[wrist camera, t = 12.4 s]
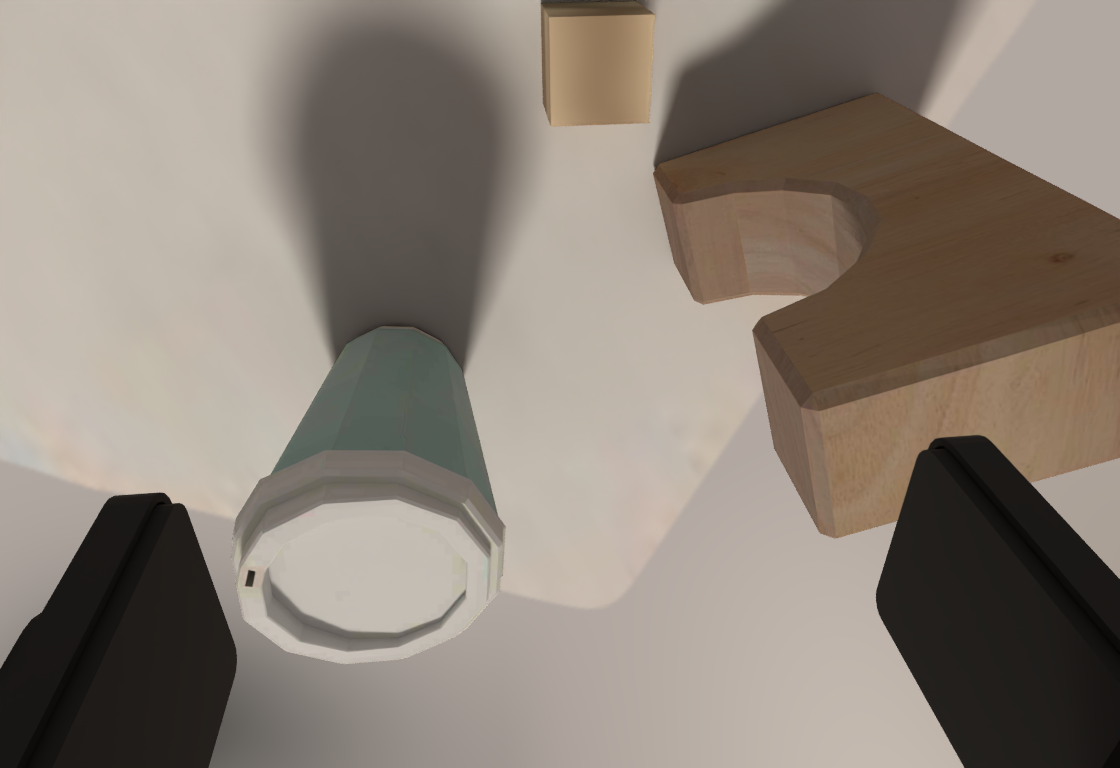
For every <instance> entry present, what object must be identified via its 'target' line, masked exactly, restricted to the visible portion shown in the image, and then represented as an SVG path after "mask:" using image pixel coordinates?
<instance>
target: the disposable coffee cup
mask: <svg viewBox="0 0 1120 768" xmlns="http://www.w3.org/2000/svg"><path fill="white" fill-rule="evenodd" d="M505 529H506V526H505V525H504V524H503V522H502V521H501V520H500V518H499V517H498V514H497V510H496V506H495V502H494V498H493V494H492V490H491V485H490V481H489V477H488V473H487V469H486V465H485V461H484V457H483V453H482V449H481V445H480V440H479V436H478V432H477V428H476V424H475V420H474V416H473V412H472V408H471V404H470V400H469V395H468V391H467V387H466V383H465V379H464V375H463V371H462V369H461V368H460V366H459V365H458V363H457V362H456V361H455V359H454V358H453V356H452V355H451V353H450V352H449V350H448V349H447V347H446V346H445V345H444V344H443V343H442V341H440V340H438V339H436V338H434V337H432V336H430V335H428V334H427V333H425V332H423V331H421V330H419V329H417V328H415V327H399V326H380V327H378V328H376V329H374V330H372V331H370V332H368V333H366V334H364V335H362V336H360V337H357V338H355V339H354V340H353V341H351V342H348V343H347V344H346V346H345V348H344V349H343V351H342V352H341V354H340V356H339V357H338V359H337V361H336V362H335V364H334V365H333V367H332V369H331V370H330V372H329V374H328V376H327V377H326V379H325V381H324V383H323V384H322V386H321V388H320V389H319V391H318V393H317V395H316V396H315V398H314V400H313V402H312V403H311V405H310V407H309V409H308V410H307V412H306V414H305V416H304V417H303V419H302V421H301V423H300V424H299V426H298V428H297V430H296V431H295V433H294V435H293V437H292V438H291V440H290V442H289V443H288V445H287V447H286V449H285V450H284V452H283V454H282V456H281V457H280V459H279V461H278V463H277V464H276V466H275V468H274V470H273V471H272V473H271V475H269V476H267V477H265V478H262V479H260V480H259V482H258V484H257V485H256V487H255V489H254V490H253V492H252V493H251V495H250V497H249V498H248V500H247V501H246V503H245V505H244V506H243V508H242V510H241V511H240V513H239V514H238V516H237V518H236V521H235V527H234V533H233V538H232V539H233V546H232V551H231V559H232V565H233V569H234V574H235V578H236V583H235V584H236V588H237V593H238V597H239V602H240V607H241V611H242V616H243V619H244V620H245V621H246V622H247V623H249V624H250V625H251V626H253V627H254V628H255V629H257V630H258V631H259V632H261V633H262V634H263V635H265V636H266V637H268V638H269V639H270V640H272V641H273V642H274V643H276V644H277V645H278V646H280V647H281V648H282V649H283V650H285V651H287V652H292V653H296V654H301V655H305V656H310V657H314V658H318V659H323V660H327V661H332V662H336V663H341V664H351V663H361V662H374V661H384V660H396V659H405V658H407V657H410V656H412V655H414V654H417V653H419V652H421V651H423V650H426V649H428V648H431V647H433V646H435V645H437V644H440V643H442V642H445V641H447V640H449V639H452V638H454V637H456V636H457V635H458V634H459V633H460V632H463V631H464V630H466V629H467V627H468V626H469V625H470V624H471V623H472V622H473V621H474V619H475V618H476V617H477V616H478V615H479V614H480V613H481V612H482V611H483V610H484V608H485V607H486V606H487V605H488V604H489V603H490V602H491V601H492V600H493V598H494V597H495V596H496V595H497V594H498V593H499V592H500V579H501V577H502V576H503V563H504V546H505Z"/></svg>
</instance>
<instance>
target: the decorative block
mask: <svg viewBox="0 0 1120 768" xmlns="http://www.w3.org/2000/svg"><path fill="white" fill-rule="evenodd" d="M653 175H654V179H655V183H656V188H657V192H658V196H659V200H660V205H661V209H662V213H663V217H664V222H665V226H666V230H667V234H668V239H669V243H670V247H671V251H672V255H673V260H674V263H675V265H676V267H677V269H678V271H679V273H680V275H681V276H682V278H683V280H684V282H685V284H686V286H687V288H688V290H689V291H690V293H691V295H692V297H693V299H694V301H697V302H699V303H701V304H703V305H704V304H709V303H714V302H719V301H724V300H729V299H734V298H739V297H744V296H749V295H802V296H807V297H806V298H804V299H802V300H800V301H797V302H795V303H793V304H791V305H788V306H786V307H784V308H782V309H779V310H777V311H775V312H772V313H770V314H768V315H766V316H763V317H762V318H761V319H760V320H759V321H758V322H757V324H756V325H755V327H754V329H753V330H752V331H753V337H754V342H755V347H756V353H757V358H758V363H759V369H760V374H761V380H762V385H763V390H764V396H765V401H766V407H767V412H768V417H769V422H770V428H771V434H772V439H773V444H774V449H775V451H776V452H777V454H778V456H779V458H780V460H781V462H782V464H783V465H784V467H785V469H786V471H787V473H788V475H789V477H790V479H791V480H792V482H793V484H794V486H795V488H796V490H797V492H798V493H799V495H800V497H801V499H802V501H803V503H804V505H805V506H806V508H807V510H808V512H809V514H810V516H811V518H812V519H813V521H814V523H815V525H816V527H817V529H818V531H819V532H820V533H821V534H824V535H827V536H829V537H832V538H839V537H843V536H846V535H850V534H853V533H857V532H860V531H864V530H867V529H871V528H874V527H878V526H881V525H885V524H888V523H892V522H895V521H898V518H899V515H900V511H901V508H902V505H903V501H904V498H905V495H906V492H907V488H908V485H909V482H910V478H911V475H912V472H913V468H914V465H915V462H916V459H917V457H918V454H919V453H920V452H921V451H923V450H928V447H929V445H930V443H931V442H932V441H933V440H934V439H937V438H942V437H956V436H970V435H981V436H985V437H986V438H988V439H989V440H990V441H991V442H992V443H993V444H994V445H995V446H996V447H997V448H998V449H999V450H1000V451H1001V452H1002V453H1003V454H1004V456H1005V457H1006V458H1007V459H1008V460H1009V461H1010V462H1011V463H1012V464H1013V465H1014V466H1015V467H1016V468H1017V470H1018V471H1019V472H1020V473H1021V474H1022V475H1023V476H1024V477H1025V478H1026V479H1027V480H1028V481H1029V482H1030V483H1031V482H1035V481H1039V480H1042V479H1045V478H1049V477H1053V476H1056V475H1059V474H1063V473H1067V472H1070V471H1074V470H1078V469H1081V468H1085V467H1088V466H1092V465H1095V464H1099V463H1103V462H1106V461H1110V460H1113V459H1117V458H1120V219H1118V218H1116V217H1114V216H1112V215H1110V214H1108V213H1107V212H1105V211H1103V210H1101V209H1099V208H1097V207H1095V206H1093V205H1091V204H1089V203H1088V202H1086V201H1084V200H1082V199H1080V198H1078V197H1076V196H1074V195H1072V194H1070V193H1068V192H1066V191H1065V190H1063V189H1060V188H1059V187H1057V186H1055V185H1053V184H1051V183H1049V182H1047V181H1045V180H1043V179H1041V178H1039V177H1037V176H1036V175H1033V174H1032V173H1030V172H1027V171H1026V170H1024V169H1022V168H1020V167H1018V166H1016V165H1014V164H1012V163H1010V162H1008V161H1006V160H1004V159H1002V158H1000V157H999V156H997V155H995V154H993V153H991V152H989V151H987V150H986V149H984V148H982V147H980V146H978V145H976V144H974V143H972V142H970V141H969V140H967V139H965V138H963V137H961V136H959V135H957V134H955V133H953V132H951V131H950V130H948V129H946V128H944V127H942V126H940V125H938V124H937V123H935V122H933V121H931V120H929V119H927V118H925V117H923V116H921V115H919V114H917V113H915V112H913V111H911V110H909V109H908V108H906V107H904V106H902V105H900V104H898V103H896V102H894V101H892V100H890V99H888V98H886V97H884V96H882V95H880V94H878V93H874V94H871V95H868V96H865V97H862V98H859V99H856V100H853V101H850V102H847V103H844V104H841V105H837V106H834V107H831V108H828V109H825V110H822V111H819V112H816V113H813V114H810V115H807V116H804V117H800V118H797V119H794V120H791V121H788V122H785V123H782V124H779V125H776V126H773V127H770V128H767V129H764V130H760V131H757V132H754V133H751V134H748V135H745V136H742V137H739V138H736V139H733V140H730V141H727V142H724V143H721V144H718V145H715V146H712V147H709V148H706V149H703V150H700V151H697V152H693V153H690V154H687V155H684V156H681V157H678V158H675V159H672V160H669V161H666V162H663V163H660V164H659V165H658V166H657V168H656V170H655V171H654V173H653Z"/></svg>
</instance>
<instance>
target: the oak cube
mask: <svg viewBox="0 0 1120 768" xmlns="http://www.w3.org/2000/svg"><path fill="white" fill-rule="evenodd" d="M654 21H655V14H653V13H652V12H651V11H649V10H648V9H646V8H645V7H644V6H642V5H641V4H639V3H638V2H637V1H617V2H576V3H541V36H542V84H543V105H544V108H545V111H546V114H547V117H548V120H549V122H550V125H551V126H578V125H605V124H633V123H649V119H650V100H651V80H652V61H653V41H654Z"/></svg>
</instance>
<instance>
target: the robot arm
mask: <svg viewBox="0 0 1120 768" xmlns="http://www.w3.org/2000/svg"><path fill="white" fill-rule="evenodd" d="M876 603H877V609H878V612H879V615H880V617H881V619H882V621H883V623H884V625H885V626H886V628H887V630H888V632H889V633H890V635H891V637H892V639H893V641H894V642H895V644H896V646H897V648H898V649H899V652H900V653H901V655H902V657H903V658H904V660H905V662H906V664H907V666H908V668H909V669H910V671H911V673H912V675H913V677H914V678H915V680H916V682H917V684H918V685H919V687H920V689H921V691H922V693H923V694H924V696H925V698H926V700H927V702H928V703H929V705H930V707H931V709H932V710H933V712H934V714H935V716H936V718H937V719H938V721H939V723H940V725H941V727H942V728H943V730H944V732H945V734H946V735H947V737H948V739H949V741H950V743H951V744H952V746H953V748H954V750H955V752H956V753H957V755H958V757H959V759H960V760H961V762H962V764H963V766H964V768H1120V579H1119V578H1118V577H1117V576H1116V575H1115V574H1114V573H1113V572H1112V570H1111V569H1110V568H1109V567H1108V566H1107V565H1106V564H1105V563H1104V562H1103V561H1102V560H1101V559H1100V558H1099V557H1098V555H1097V554H1096V553H1095V552H1094V551H1093V550H1092V549H1091V548H1090V547H1089V546H1088V545H1087V544H1086V543H1085V541H1084V540H1082V538H1081V537H1080V536H1079V535H1078V534H1077V533H1076V532H1075V531H1074V530H1073V529H1072V528H1071V526H1070V525H1069V524H1068V523H1067V522H1066V521H1065V520H1064V519H1063V518H1062V517H1061V516H1060V515H1059V514H1058V513H1057V511H1056V510H1055V509H1054V508H1053V507H1052V506H1051V505H1050V504H1049V503H1048V502H1047V501H1046V500H1045V499H1044V498H1043V496H1042V495H1041V494H1040V493H1039V492H1038V491H1037V490H1036V489H1035V488H1034V487H1033V486H1032V485H1031V483H1030V482H1029V481H1028V480H1027V479H1026V478H1025V477H1024V476H1023V475H1022V474H1021V473H1020V472H1019V471H1018V470H1017V468H1016V467H1015V466H1014V465H1013V464H1012V463H1011V462H1010V461H1009V460H1008V459H1007V458H1006V457H1005V456H1004V454H1003V453H1002V452H1001V451H1000V450H999V449H998V448H997V447H996V446H995V445H994V444H993V443H992V442H991V441H990V440H989V439H988V438H986V437H985V436H981V435H970V436H956V437H942V438H937V439H934V440H933V441H932V442H931V443H930V445H929V447H928V450H923V451H921V452H920V453H919V454H918V457H917V459H916V462H915V465H914V468H913V472H912V475H911V478H910V482H909V485H908V488H907V492H906V495H905V498H904V501H903V505H902V508H901V511H900V515H899V518H898V521H897V524H896V528H895V531H894V534H893V538H892V541H891V544H890V548H889V551H888V554H887V557H886V561H885V564H884V567H883V571H882V574H881V577H880V580H879V584H878V587H877V591H876ZM236 665H237V655H236V647H235V644H234V641H233V638H232V635H231V633H230V630H229V627H228V624H227V621H226V619H225V616H224V613H223V610H222V607H221V605H220V602H219V599H218V596H217V593H216V590H215V588H214V585H213V582H212V579H211V576H210V574H209V571H208V568H207V565H206V563H205V560H204V557H203V554H202V551H201V549H200V546H199V543H198V540H197V537H196V535H195V532H194V529H193V526H192V523H191V521H190V518H189V515H188V512H187V510H186V508H185V506H184V505H183V504H180V503H175V504H172V502H171V500H170V498H169V497H168V496H167V495H166V494H165V493H148V494H133V495H119V496H113V497H111V498H109V499H108V500H107V502H106V503H105V504H104V506H103V508H102V509H101V511H100V513H99V514H98V516H97V518H96V520H95V521H94V523H93V525H92V527H91V528H90V530H89V532H88V534H87V535H86V537H85V539H84V541H83V542H82V544H81V546H80V547H79V549H78V551H77V553H76V554H75V556H74V558H73V559H72V562H71V563H70V565H69V566H68V568H67V570H66V572H65V573H64V575H63V577H62V579H61V580H60V582H59V584H58V585H57V587H56V589H55V591H54V592H53V594H52V596H51V598H50V599H49V601H48V603H47V605H46V606H45V608H44V610H43V611H42V613H40V614H39V615H37V616H36V617H34V618H33V619H32V620H31V621H30V622H29V623H28V625H27V626H26V627H25V629H24V630H23V631H22V633H21V635H20V636H19V638H18V640H17V642H16V643H15V645H14V647H13V648H12V650H11V652H10V654H9V655H8V657H7V659H6V661H5V662H4V664H3V665H2V667H1V669H0V768H208V767H209V763H210V760H211V757H212V753H213V750H214V746H215V743H216V739H217V736H218V732H219V729H220V726H221V722H222V719H223V715H224V712H225V708H226V705H227V701H228V697H229V695H230V690H231V688H232V684H233V680H234V677H235V673H236Z"/></svg>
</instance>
